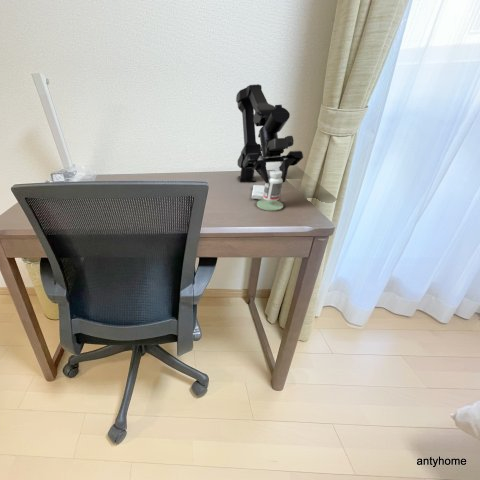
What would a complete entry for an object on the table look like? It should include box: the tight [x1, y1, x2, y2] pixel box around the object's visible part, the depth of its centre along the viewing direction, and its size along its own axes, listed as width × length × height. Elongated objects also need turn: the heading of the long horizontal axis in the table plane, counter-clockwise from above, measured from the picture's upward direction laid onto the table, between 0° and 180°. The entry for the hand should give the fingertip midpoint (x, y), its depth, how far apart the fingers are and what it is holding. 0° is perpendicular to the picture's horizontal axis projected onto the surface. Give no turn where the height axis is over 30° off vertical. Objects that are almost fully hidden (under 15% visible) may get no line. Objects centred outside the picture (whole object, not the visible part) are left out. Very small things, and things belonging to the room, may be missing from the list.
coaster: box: [256, 199, 284, 212], centre depth 93 cm, size 9×9×1 cm
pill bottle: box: [263, 169, 284, 201], centre depth 89 cm, size 5×5×10 cm
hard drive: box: [251, 184, 265, 200], centre depth 101 cm, size 2×8×12 cm
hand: (275, 182), depth 87 cm, fingers closed on pill bottle, 5 cm apart
